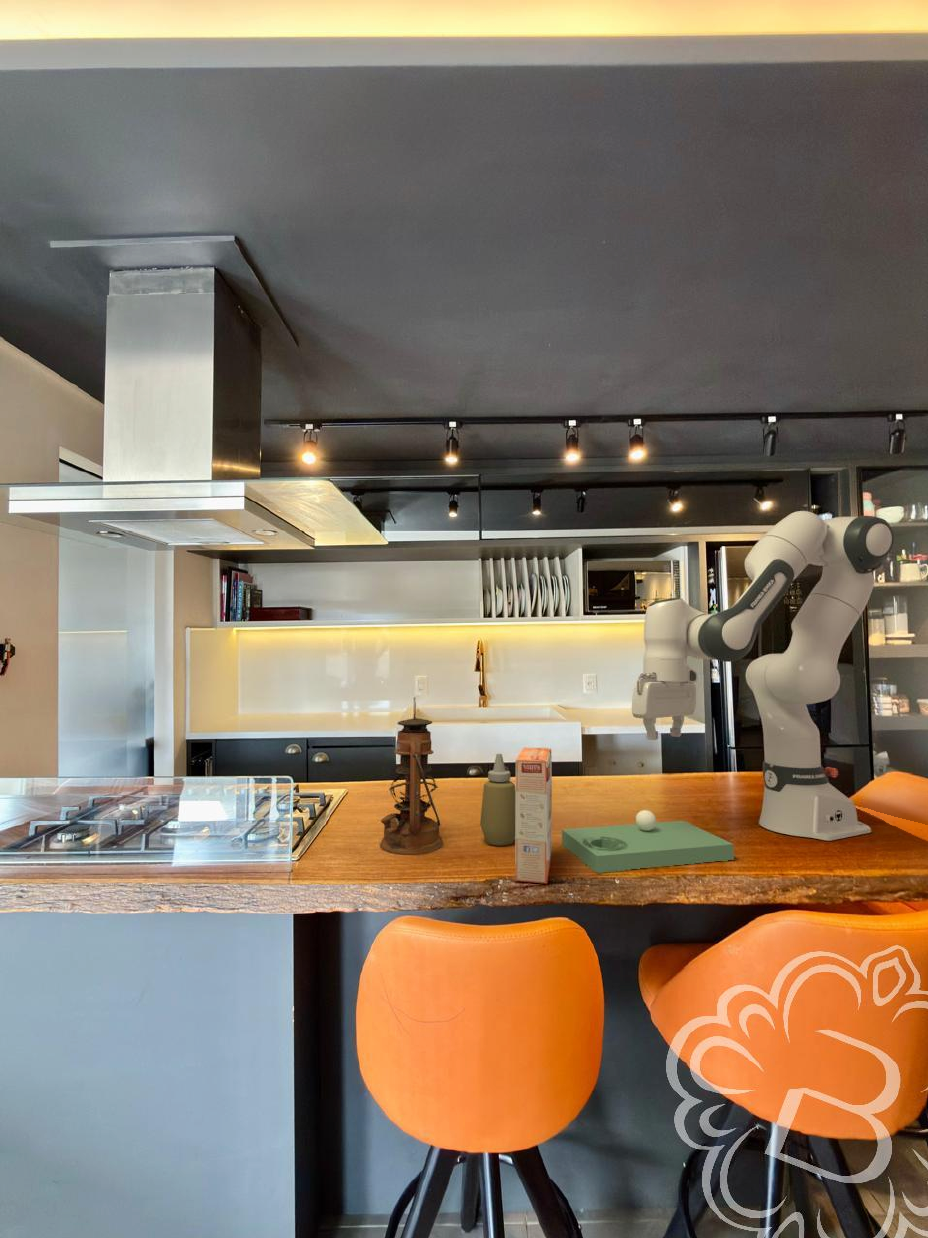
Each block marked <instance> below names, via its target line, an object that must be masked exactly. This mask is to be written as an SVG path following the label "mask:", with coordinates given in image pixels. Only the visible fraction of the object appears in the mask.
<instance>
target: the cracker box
mask: <svg viewBox="0 0 928 1238" xmlns="http://www.w3.org/2000/svg"><path fill="white" fill-rule="evenodd" d="M552 765H553V764H552V749H551V748H547V747H523V748H522V750H521V751H519V754H518V755H517V757H516V758H515V792H516V808H515V839H514V844H515V847H514V849H515V851H514V856H515V857H514V858H515V859H514V865H515V866H514V870H515V871H514V876H515V881H516V882H522V883H523V882H524V883H535V884H536V883H537V884H546V885H547V884H548V881H549V880H548V879H549V873H550V866H551V860H552V832H553V831H552V827H553V826H552V824H553V823H552V821H553V820H552V817H553V816H552V814H553V813H552V810H553V809H552V808H553V807H552V802H553V799H552V798H553V797H552V795H553V794H552V793H553V791H552V790H553V788H552V787H553V785H552V783H553V780H552V778H553V777H552V771H553V770H552Z"/></svg>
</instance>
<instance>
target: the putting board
mask: <svg viewBox="0 0 928 1238" xmlns="http://www.w3.org/2000/svg"><path fill="white" fill-rule="evenodd" d="M561 845H562V846H563V847H564V848H566V849H567V850H568V851H569V852H571V853H572V854H573V855H574V856H575V855H576V856H575V857H577V856H578V857H579V858H580V859H581V860H580V859H579V858H578V857H577V858H578V859H579V860H580V861H581V862H582V863H584V864H585V865H586V864H587V865H586V866H588V867H589V868H590V869H591V870H592V871H594V872H595V873H596V874H604V873H605V872H606V873H614V872H615V873H616V871H617V872H624V871H625V870H627V871H632V870H631V869H638V870H641V869H640V868H647V867H658V866H670V867H672V866H671V865H681V866H685V865H684V864H691V865H696V864H695V863H702V864H704V863H703V862H713V863H715V862H714V861H723V862H729V861H728V860H734V861H735V846H734V845H735V844H733V842H729V841H727V840H726V839H723V838H721V837H719V836H717V835H715V834H712V833H711V832H708V831H706V830H704V829H702V828H700V827H697V826H696V825H693V824H692V823H689V822H687V821H685V820H675V821H673V820H672V821H660V822H658V821H656V825H655V827H654V828H653V829H652V830H650V831H644V830H642V829H640V828H639V827H638V825H637V823H634V824H633V823H632V824H621V825H620V824H618V825H605V826H593V827H592V826H589V827H579V828H578V827H577V828H565V829H563V828H562V829H561ZM606 873H605V874H606Z"/></svg>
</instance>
